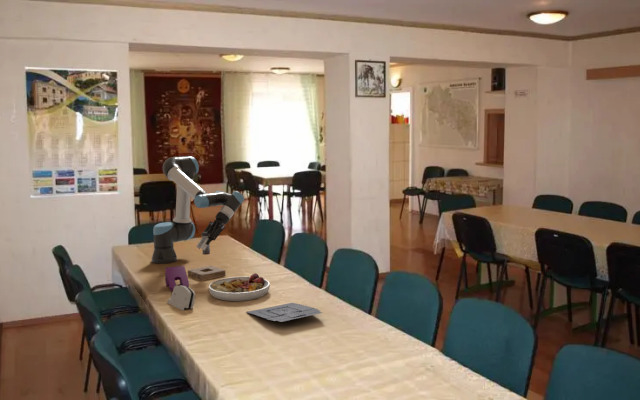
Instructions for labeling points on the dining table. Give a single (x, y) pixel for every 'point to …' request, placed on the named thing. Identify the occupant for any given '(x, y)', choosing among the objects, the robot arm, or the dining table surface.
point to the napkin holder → (182, 297)
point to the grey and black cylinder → (204, 237)
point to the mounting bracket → (176, 276)
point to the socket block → (206, 272)
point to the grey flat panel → (285, 312)
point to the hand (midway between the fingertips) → (200, 248)
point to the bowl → (239, 288)
